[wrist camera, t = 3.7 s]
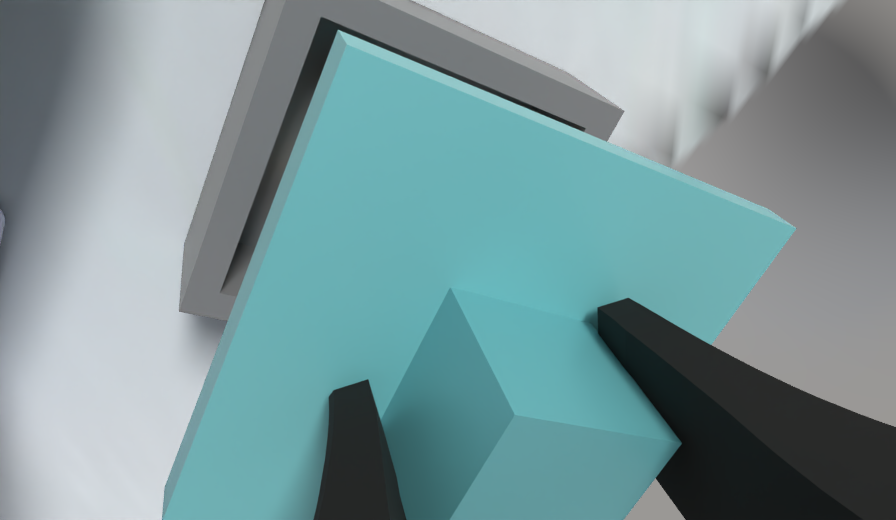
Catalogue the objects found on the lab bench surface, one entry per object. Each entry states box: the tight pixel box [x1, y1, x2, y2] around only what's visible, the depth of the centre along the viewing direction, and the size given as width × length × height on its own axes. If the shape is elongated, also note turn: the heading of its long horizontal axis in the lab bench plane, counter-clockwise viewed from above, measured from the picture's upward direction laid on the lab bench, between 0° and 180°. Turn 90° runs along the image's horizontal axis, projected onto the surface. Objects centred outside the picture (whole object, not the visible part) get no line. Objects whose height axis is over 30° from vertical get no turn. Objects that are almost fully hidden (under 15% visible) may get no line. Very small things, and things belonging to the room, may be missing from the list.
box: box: [179, 0, 624, 321], centre depth 19 cm, size 9×9×4 cm
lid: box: [162, 30, 796, 520], centre depth 12 cm, size 9×9×4 cm
